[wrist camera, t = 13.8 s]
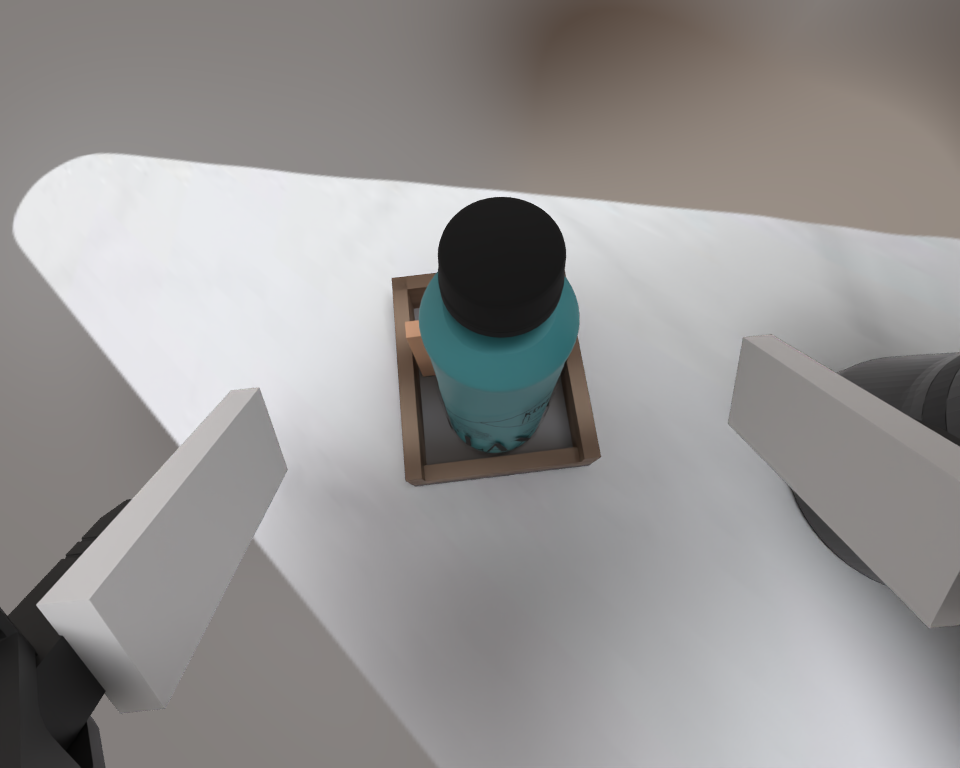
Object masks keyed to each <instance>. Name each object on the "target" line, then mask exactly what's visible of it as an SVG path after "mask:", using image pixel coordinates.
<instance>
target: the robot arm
mask: <svg viewBox="0 0 960 768" xmlns="http://www.w3.org/2000/svg"><path fill="white" fill-rule="evenodd" d="M728 424H729V425H730V426H731V427H732V428H733V429H734V430H735V431H736V432H737V433H738V434H739V435H740V436H741V437H742V439H743V440H744V441H745V442H746V443H747V444H748V445H749V446H750V447H751V448H752V449H753V450H754V451H755V452H756V453H757V454H758V455H759V456H760V457H761V458H762V459H763V460H764V461H765V462H766V463H767V464H768V465H769V466H770V467H771V468H772V469H773V470H774V471H775V472H776V473H777V474H778V475H779V476H780V477H781V478H782V479H783V480H784V481H785V482H786V483H787V484H788V485H789V486H790V487H791V488H792V489H793V492H794V495H795V497H796V500H797V502H798V504H799V506H800V508H801V510H802V512H803V514H804V515H805V517H806V519H807V520H808V522H809V523H810V525H811V526H812V528H813V529H814V530H815V532H816V533H817V534H818V536H819V537H820V538H821V539H822V540H823V542H824V543H825V544H826V545H827V546H828V547H829V548H830V549H831V550H832V551H833V552H834V553H835V554H836V555H838V556H839V557H840V558H841V559H842V560H844V561H845V562H846V563H847V564H849V565H850V566H851V567H853V568H854V569H856V570H857V571H859V572H860V573H862V574H864V575H866V576H867V577H869V578H871V579H873V580H875V581H877V582H879V583H881V584H884V585H886V586H888V587H889V588H890V589H891V590H892V591H893V592H894V593H895V594H896V595H897V596H898V597H899V598H900V599H901V600H902V601H903V602H904V603H905V604H906V605H907V606H908V608H909V609H910V610H911V611H912V612H913V613H914V614H915V615H916V616H917V617H918V618H919V619H920V620H921V621H922V622H923V623H924V624H925V625H926V626H927V627H928V628H937V627H947V626H956V625H960V352H957V353H941V354H926V355H911V356H895V357H885V358H879V359H874V360H870V361H866V362H863V363H860V364H857V365H855V366H852V367H850V368H848V369H846V370H843V371H841V372H839V373H835V372H834V371H832V370H830V369H829V368H827V367H825V366H824V365H822V364H820V363H819V362H817V361H815V360H814V359H812V358H810V357H809V356H807V355H805V354H804V353H802V352H800V351H799V350H797V349H795V348H793V347H792V346H790V345H788V344H787V343H785V342H783V341H782V340H780V339H778V338H777V337H775V336H773V335H772V334H769V335H759V336H749V337H743V340H742V346H741V352H740V358H739V363H738V369H737V375H736V380H735V386H734V392H733V397H732V403H731V409H730V414H729V420H728ZM287 470H288V469H287V466H286V463H285V460H284V457H283V454H282V451H281V449H280V446H279V443H278V440H277V437H276V434H275V431H274V428H273V425H272V423H271V420H270V417H269V414H268V411H267V408H266V405H265V402H264V399H263V397H262V394H261V391H260V388H249V389H240V390H231V391H230V392H229V393H228V394H227V395H226V397H225V398H224V399H223V400H222V401H221V402H220V403H219V404H218V405H217V406H216V408H215V409H214V410H213V411H212V412H211V413H210V414H209V415H208V416H207V417H206V419H205V420H204V421H203V422H202V423H201V424H200V425H199V426H198V427H197V428H196V430H195V431H194V432H193V433H192V434H191V435H190V436H189V437H188V438H187V439H186V441H185V442H184V443H183V444H182V445H181V446H180V447H179V448H178V449H177V450H176V452H175V453H174V454H173V455H172V456H171V457H170V458H169V459H168V460H167V461H166V463H165V464H164V465H163V466H162V467H161V468H160V469H159V470H158V471H157V473H156V474H155V475H154V476H153V477H152V478H151V479H150V480H149V481H148V482H147V484H146V485H145V486H144V487H143V488H142V489H141V490H140V491H139V492H138V493H137V494H136V496H135V497H134V498H133V499H129V500H126V501H124V502H123V503H121V504H120V505H118V506H117V507H116V508H114V509H113V510H111V511H110V512H108V513H107V514H106V515H104V516H103V517H101V518H100V519H99V520H98V521H97V522H96V523H95V524H94V526H93V527H92V528H91V529H90V530H89V531H88V532H87V533H86V534H85V535H84V536H83V537H82V541H81V542H77V543H76V545H75V546H74V547H73V548H72V549H71V550H70V551H69V552H68V553H67V554H66V558H65V559H61V560H60V562H58V564H57V565H56V566H55V567H54V568H53V569H52V570H51V571H50V572H49V573H48V574H47V575H46V576H45V577H44V578H43V579H42V580H41V582H40V583H39V584H38V585H37V586H36V587H35V588H34V589H33V590H32V591H31V592H30V593H29V594H28V595H27V596H26V598H24V599H23V600H22V602H21V603H20V604H19V605H18V606H17V607H16V608H15V609H14V610H13V611H12V612H11V613H10V614H9V615H8V616H7V615H6V614H5V613H4V611H3V610H2V609H1V608H0V768H105V762H104V756H103V750H102V744H101V738H100V733H99V728H98V726H97V724H96V723H95V721H94V719H93V718H92V717H91V716H90V715H91V714H92V712H93V710H94V709H95V707H96V706H97V704H98V703H99V701H100V699H101V698H102V696H103V695H104V693H105V694H106V696H107V697H108V698H109V700H110V701H111V702H112V704H113V705H114V706H115V707H116V709H117V710H118V711H119V713H130V712H140V711H150V710H159V709H165V708H166V706H167V704H168V702H169V700H170V698H171V696H172V694H173V692H174V690H175V688H176V687H177V685H178V683H179V681H180V679H181V677H182V675H183V673H184V671H185V669H186V667H187V665H188V663H189V661H190V659H191V657H192V655H193V653H194V651H195V649H196V648H197V645H198V643H199V641H200V640H201V638H202V636H203V634H204V632H205V630H206V628H207V626H208V624H209V622H210V620H211V618H212V616H213V614H214V612H215V610H216V609H217V607H218V604H219V603H220V601H221V599H222V596H223V595H224V593H225V591H226V589H227V587H228V585H229V583H230V581H231V579H232V577H233V575H234V573H235V571H236V569H237V568H238V565H239V564H240V561H241V560H242V558H243V556H244V554H245V552H246V550H247V548H248V546H249V544H250V542H251V540H252V538H253V536H254V534H255V532H256V531H257V529H258V527H259V525H260V523H261V521H262V519H263V517H264V515H265V513H266V511H267V509H268V507H269V505H270V503H271V501H272V499H273V497H274V495H275V493H276V491H277V490H278V488H279V486H280V484H281V482H282V480H283V478H284V476H285V474H286V472H287Z"/></svg>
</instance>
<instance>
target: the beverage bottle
mask: <svg viewBox="0 0 960 768" xmlns="http://www.w3.org/2000/svg"><path fill="white" fill-rule="evenodd" d="M565 262H566V247H565V242H564V239H563V236H562V233H561V231H560V229H559V227H558V225H557V224H556V223H555V221H554V220H553V219H552V218H551V216H549V215H548V214H547V213H546V212H545V211H544V210H542V209H541V208H539V207H537V206H536V205H534V204H532V203H529V202H527V201H524V200H521V199H517V198H511V197H494V198H487V199H483V200H479V201H477V202H474V203H472V204H470V205H468V206H466V207H465V208H463V209H462V210H460V211H459V212H458V213H457V214H456V215H455V216H454V217H453V218H452V219H451V220H450V222H449V223H448V224H447V226H446V228H445V230H444V232H443V234H442V237H441V239H440V243H439V247H438V264H439V267H438V272H437V273H436V274H435V275H434V277H433V278H432V280H431V281H430V283H429V284H428V286H427V288H426V290H425V292H424V295H423V297H422V300H421V304H420V309H419V329H420V334H421V338H422V341H423V344H424V347H425V349H426V351H427V353H428V355H429V357H430V359H431V362H432V365H433V368H434V371H435V374H436V377H437V380H438V383H437V385H438V386H439V388H438V389H440V392H441V395H442V397H441V398H442V399H443V401H444V403H443V405H444V406H445V407H446V409H445V410H447V411H446V412H447V413H448V416H449V419H450V421H449V419H448V418H447V419H448V422H449V425H450V427H451V430H453V429H454V430H455V432H456V434H457V435H458V436H459V437H460V438H461V439H462V440H463V441H464V443H466V444H467V445H469V446H471V447H473V448H475V449H477V450H480V452H482V451H484V454H485V452H490V453H491V455H493V454H495V455H499V454H497V453H500V452H506V451H508V452H509V453H510V451H509V450H511V451H512V449H514V450H515V448H516V449H517V447H519V446H520V445H522V444H523V443H526V442H527V441H528V440H529V439H530V438H531V436H532V434H533V433H535V432H536V431H535V430H536V428H537V427H538V425H539V423H540V421H541V418H544V417H545V415H546V414H545V415H544V417H542V415H543V413H544V411H545V408H546V407H548V406H550V405H549V403H550V402H549V400H550V399H551V397H552V392H553V390H554V387H555V385H556V383H557V380H558V378H559V376H560V375H561V374H560V373H562V372H561V371H562V369H563V367H564V363H565V366H566V363H567V360H568V359H567V358H568V357H569V355H570V353H571V351H572V349H573V347H574V345H575V342H576V339H577V335H578V330H579V307H578V303H577V299H576V296H575V293H574V291H573V289H572V287H571V285H570V283H569V282H568V280H567V278H566V277H565ZM567 367H568V366H567ZM565 369H566V368H565ZM563 373H565V370H564V372H563ZM563 373H562V374H563ZM561 376H562V375H561ZM563 376H564V374H563ZM559 380H562V378H561V379H559ZM558 383H559V382H558ZM560 383H561V382H560ZM559 385H560V384H559ZM558 387H559V386H558ZM558 387H557V388H558ZM436 390H437V389H436ZM554 391H555V390H554ZM556 391H557V389H556ZM437 393H438V392H437ZM554 393H555V392H553V396H554ZM552 398H553V397H552ZM551 400H552V399H551ZM440 401H441V400H440ZM441 404H442V403H441ZM548 409H549V407H548ZM548 409H547V411H548ZM547 411H546V412H545V413H547ZM444 412H445V411H444ZM445 415H446V414H445ZM450 422H451V423H450ZM451 424H452V426H451ZM540 425H541V423H540ZM452 427H453V429H452ZM538 428H539V427H538ZM453 433H454V432H453ZM536 433H537V432H536ZM458 440H459V438H458ZM459 441H461V440H459ZM471 447H470V449H471ZM522 447H523V446H522ZM475 449H474V451H475ZM472 450H473V449H472ZM512 452H513V451H512ZM505 454H506V453H505Z"/></svg>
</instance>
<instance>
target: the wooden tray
mask: <svg viewBox="0 0 960 768" xmlns="http://www.w3.org/2000/svg"><path fill="white" fill-rule="evenodd" d="M435 274H436V273H431V274H423V275H414V276H406V277H397V278H392V289H393V304H394V318H395V333H396V348H397V362H398V377H399V392H400V407H401V421H402V436H403V451H404V465H405V480H406V481H407V482H409V483H410V484H412V485H414V486H423V485H431V484H439V483H447V482H456V481H464V480H472V479H480V478H489V477H497V476H505V475H513V474H522V473H530V472H538V471H546V470H555V469H563V468H571V467H579V466H588V465H590V464H591V463H593V462H594V461H596V460H597V459H599V458H600V457H601V454H600V449H599V444H598V439H597V434H596V428H595V423H594V418H593V413H592V408H591V403H590V398H589V393H588V387H587V382H586V377H585V372H584V367H583V362H582V357H581V352H580V346H579V341H578V336H577V339H576V342H575V345H574V347H573V349H572V351H571V353H570V355H569V357H568V358H567V359H568V360H567V363H566V366H565V363H564V367H563V369H562V371H561V372H562V373H563V372H564V370H565V373H563V374H564V376H563V374H562V373H560V374H561V375H562V376H561V375H560V376H559V378H558V380H557V383H556V385H555V387H554V390H555V391H554V390H553V392H555V393H554V396H553V392H552V397H553V398H552V397H551V399H552V400H551V399H550V400H549V402H550V403H549V405H550V406H548V407H549V409H548V407H546V408H545V411H544V413H543V415H542V417H544V415H545V414H546V415H545V417H544V418H541V421H540V423H541V425H540V423H539V425H538V427H539V428H538V427H537V428H536V430H535V431H536V432H537V433H536V432H535V433H533V434H532V436H531V438H530V439H529V440H528V441H527V442H526V443H523V444H522V445H520V446H519V447H517V449H516V448H515V450H514V449H512V451H513V452H512V451H511V450H509V451H510V453H509V452H508V451H506V452H500V453H497V454H499V455H495V454H493V455H491V453H490V452H485V454H484V451H482V452H480V450H477V449H475V448H473V447H471V446H469V445H467V444H466V443H464V441H463V440H462V439H461V438H460V437H459V436H458V435H457V434H456V432H455V430H454V429H453V427H452V429H453V430H451V427H450V425H449V422H448V419H449V416H448V413H447V412H446V411H447V410H445V409H446V407H445V406H444V405H443V403H444V401H443V399H442V398H441V397H442V395H441V392H440V389H438V388H439V386H438V385H437V383H438V380H437V377H436V375H432V376H424V377H423V375H422V373H421V370H420V368H419V366H418V364H417V361H416V359H415V357H414V355H413V352H412V350H411V348H410V346H409V343H408V341H407V339H406V330H405V322H408V321H416V320H419V309H420V304H421V300H422V297H423V295H424V292H425V290H426V288H427V286H428V284H429V283H430V281H431V280H432V278H433V277H434V275H435ZM565 277H566V275H565ZM567 366H568V367H567ZM565 368H566V369H565ZM561 378H562V380H559V379H561ZM558 382H559V383H558ZM560 382H561V383H560ZM559 384H560V385H559ZM558 386H559V387H558ZM557 387H558V388H557ZM436 389H437V390H436ZM556 389H557V391H556ZM437 392H438V393H437ZM440 400H441V401H440ZM441 403H442V404H441ZM547 409H548V411H547ZM444 411H445V412H444ZM546 411H547V413H545V412H546ZM445 414H446V415H445ZM447 418H448V419H447ZM449 421H450V419H449ZM450 423H451V422H450ZM451 426H452V424H451ZM453 432H454V433H453ZM458 438H459V440H461V441H459V440H458ZM522 446H523V447H522ZM470 447H471V449H470ZM472 449H473V450H472ZM474 449H475V451H474ZM505 453H506V454H505Z"/></svg>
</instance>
